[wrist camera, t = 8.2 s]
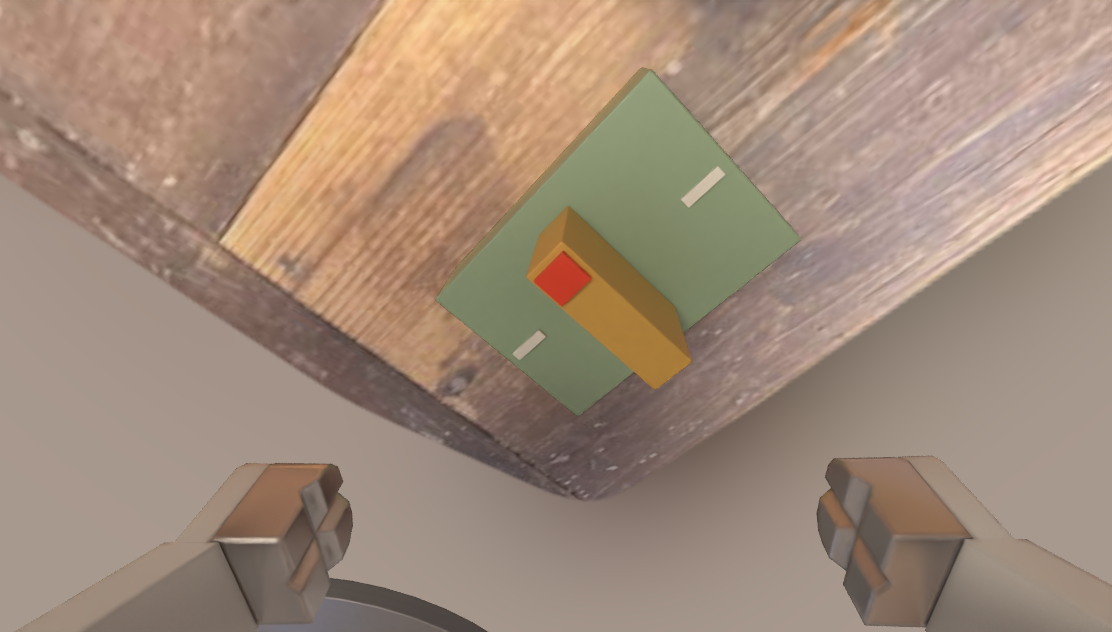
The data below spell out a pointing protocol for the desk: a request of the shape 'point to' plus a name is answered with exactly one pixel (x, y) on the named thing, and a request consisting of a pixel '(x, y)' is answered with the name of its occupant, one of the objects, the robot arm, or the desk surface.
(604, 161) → the plate
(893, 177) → the desk surface
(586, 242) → the lock knob
